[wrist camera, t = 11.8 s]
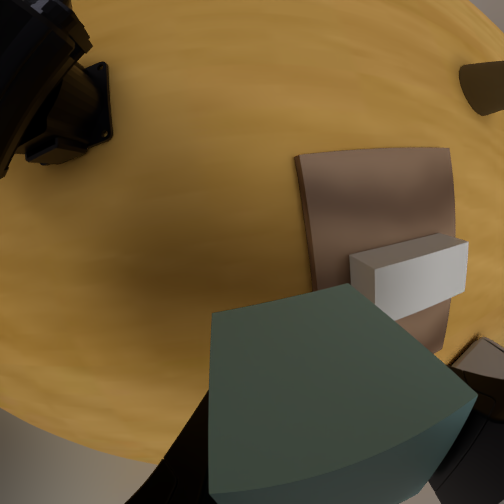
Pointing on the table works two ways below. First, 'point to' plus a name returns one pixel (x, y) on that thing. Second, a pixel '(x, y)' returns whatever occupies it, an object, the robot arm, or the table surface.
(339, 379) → the block
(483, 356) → the stereo radio cassette player
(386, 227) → the board
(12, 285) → the table surface
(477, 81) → the olive pepper mill
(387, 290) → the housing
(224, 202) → the table surface
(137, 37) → the table surface
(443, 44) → the table surface
